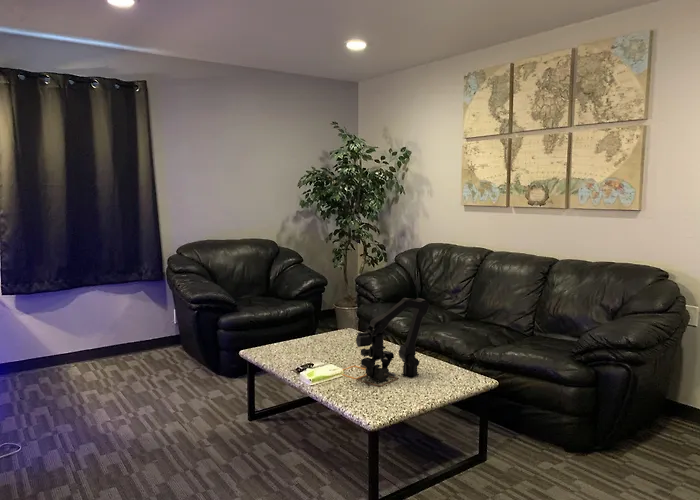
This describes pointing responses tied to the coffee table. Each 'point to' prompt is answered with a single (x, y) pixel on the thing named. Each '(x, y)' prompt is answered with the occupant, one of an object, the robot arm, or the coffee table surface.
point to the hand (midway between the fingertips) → (377, 375)
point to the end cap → (379, 374)
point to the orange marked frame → (353, 377)
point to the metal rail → (385, 373)
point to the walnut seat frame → (376, 384)
